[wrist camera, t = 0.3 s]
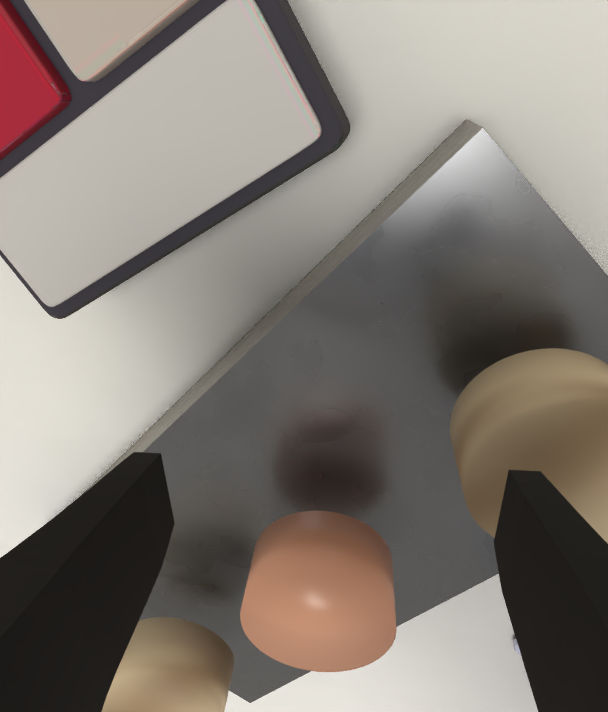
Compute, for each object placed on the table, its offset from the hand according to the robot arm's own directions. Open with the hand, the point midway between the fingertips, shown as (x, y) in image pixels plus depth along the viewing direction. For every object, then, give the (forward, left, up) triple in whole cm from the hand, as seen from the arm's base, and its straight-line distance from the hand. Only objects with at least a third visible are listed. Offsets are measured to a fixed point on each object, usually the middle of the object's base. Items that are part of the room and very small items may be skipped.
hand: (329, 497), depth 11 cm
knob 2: (-5, -3, -5) cm, 8 cm away
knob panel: (-5, +6, -10) cm, 12 cm away
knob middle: (-5, +6, -5) cm, 9 cm away
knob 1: (-5, +15, -5) cm, 16 cm away
